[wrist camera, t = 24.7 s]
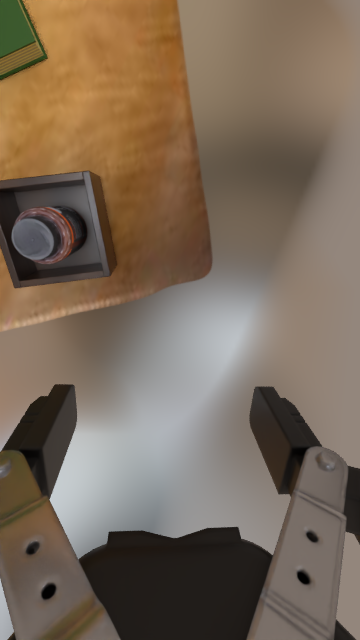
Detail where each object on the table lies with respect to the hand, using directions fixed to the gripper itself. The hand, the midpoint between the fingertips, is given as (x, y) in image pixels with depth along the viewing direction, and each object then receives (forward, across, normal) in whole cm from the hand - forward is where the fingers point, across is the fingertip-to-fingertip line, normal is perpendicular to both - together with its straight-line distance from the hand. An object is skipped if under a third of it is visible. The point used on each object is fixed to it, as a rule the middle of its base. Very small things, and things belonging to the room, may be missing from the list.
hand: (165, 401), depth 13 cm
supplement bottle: (+31, +13, -4) cm, 34 cm away
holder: (+32, +13, -4) cm, 34 cm away
